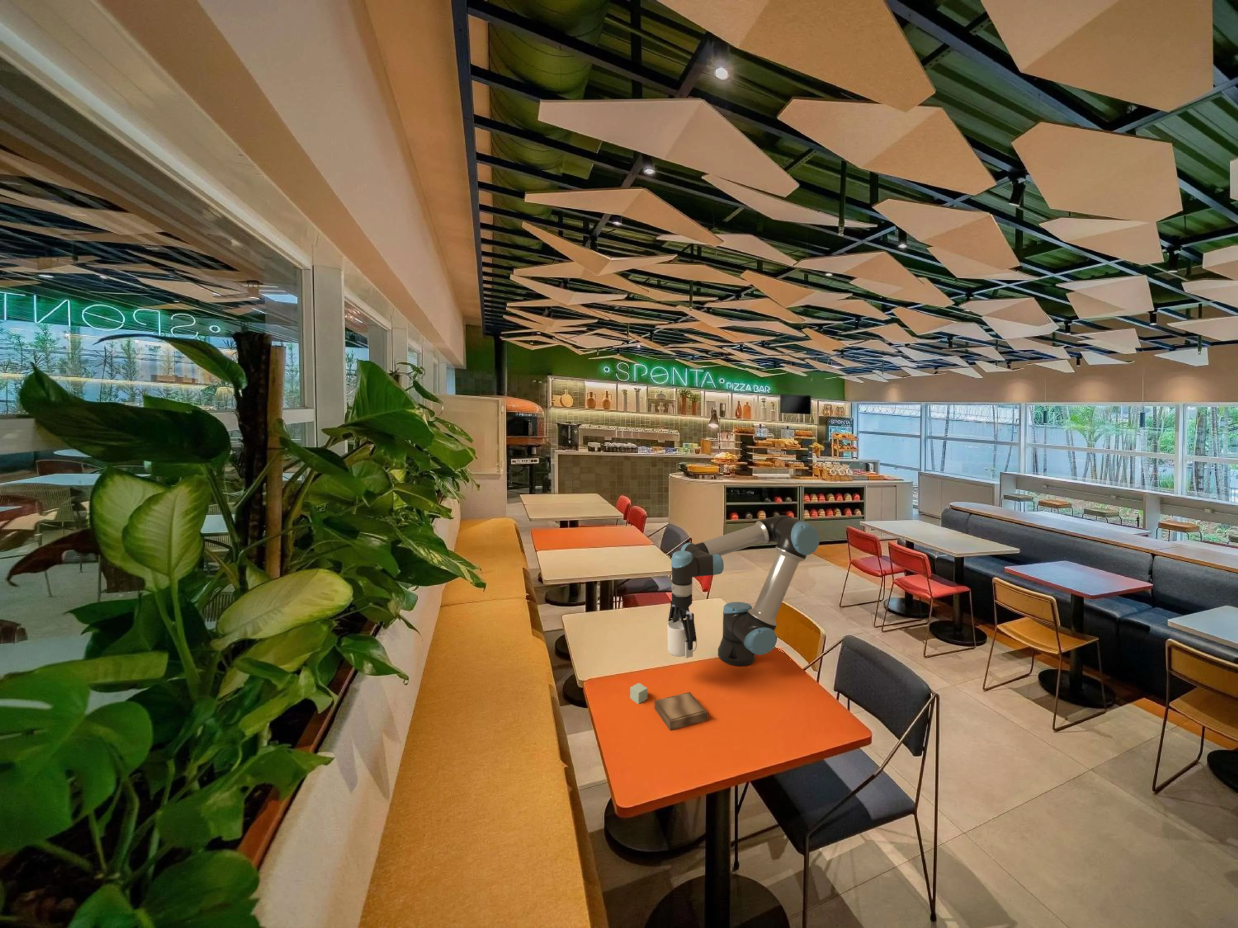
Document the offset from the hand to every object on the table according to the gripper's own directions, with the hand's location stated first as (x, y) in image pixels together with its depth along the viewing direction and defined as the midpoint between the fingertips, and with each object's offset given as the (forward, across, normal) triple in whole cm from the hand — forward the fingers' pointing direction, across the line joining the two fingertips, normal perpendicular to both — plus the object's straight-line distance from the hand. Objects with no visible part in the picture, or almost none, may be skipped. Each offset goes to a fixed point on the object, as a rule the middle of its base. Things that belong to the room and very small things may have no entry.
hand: (681, 649), depth 175 cm
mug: (+1, +1, 0) cm, 1 cm away
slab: (+14, +15, -9) cm, 22 cm away
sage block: (+14, +2, -19) cm, 23 cm away
